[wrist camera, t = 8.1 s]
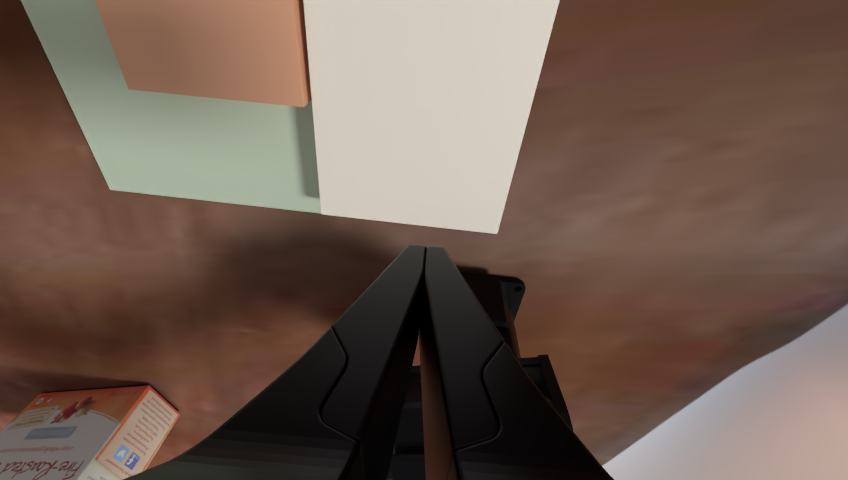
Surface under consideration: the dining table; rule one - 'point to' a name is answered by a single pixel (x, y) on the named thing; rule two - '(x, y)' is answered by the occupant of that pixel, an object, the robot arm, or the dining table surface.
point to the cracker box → (86, 435)
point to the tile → (212, 48)
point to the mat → (175, 125)
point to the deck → (422, 105)
